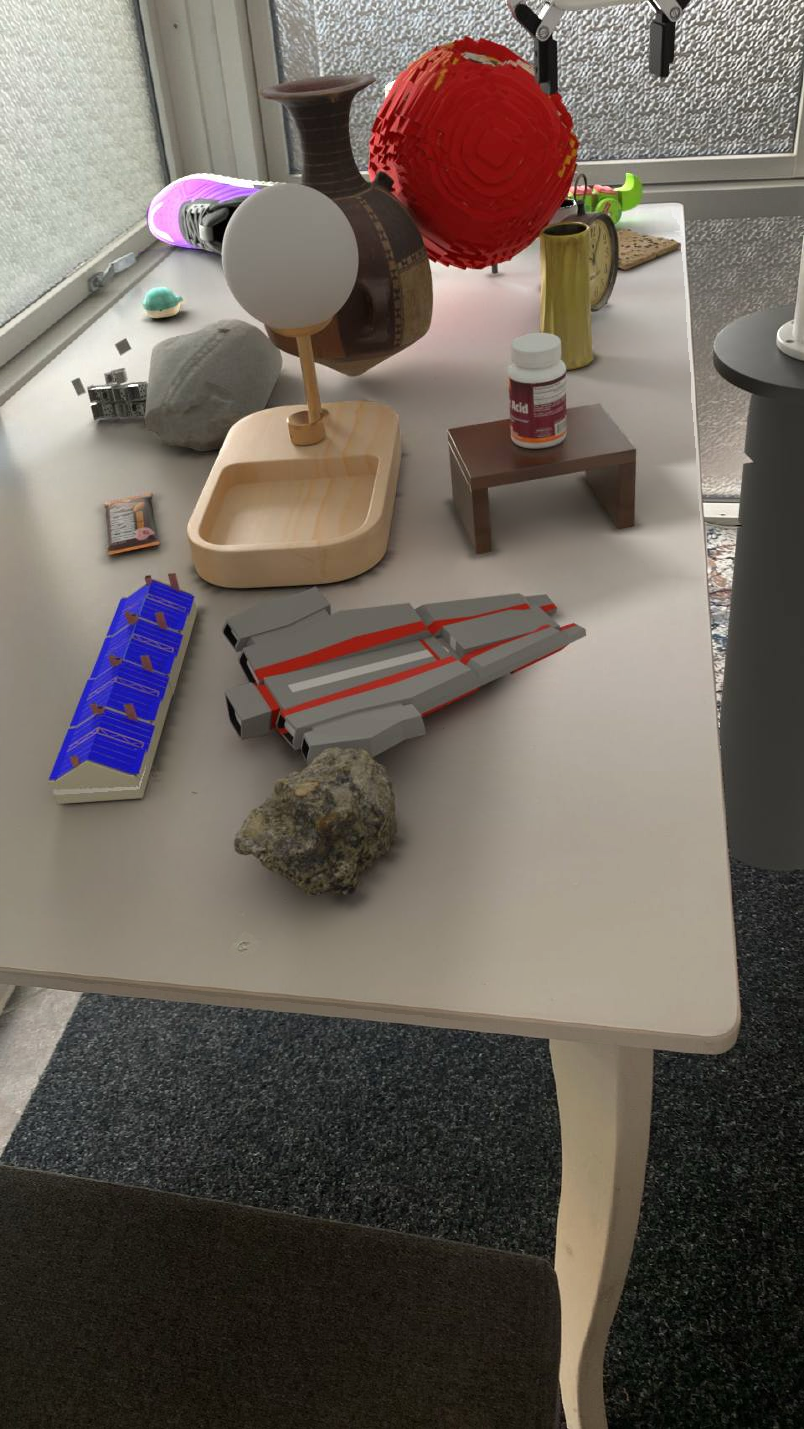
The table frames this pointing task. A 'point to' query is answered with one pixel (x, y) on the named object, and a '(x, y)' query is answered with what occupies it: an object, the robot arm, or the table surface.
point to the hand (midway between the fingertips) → (604, 83)
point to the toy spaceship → (376, 664)
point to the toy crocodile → (611, 197)
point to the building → (127, 695)
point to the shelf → (541, 466)
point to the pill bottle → (537, 391)
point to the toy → (474, 151)
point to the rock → (324, 822)
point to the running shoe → (199, 209)
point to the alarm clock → (598, 250)
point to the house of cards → (116, 393)
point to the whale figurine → (161, 303)
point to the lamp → (296, 417)
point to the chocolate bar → (130, 524)
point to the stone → (209, 383)
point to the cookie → (641, 247)
